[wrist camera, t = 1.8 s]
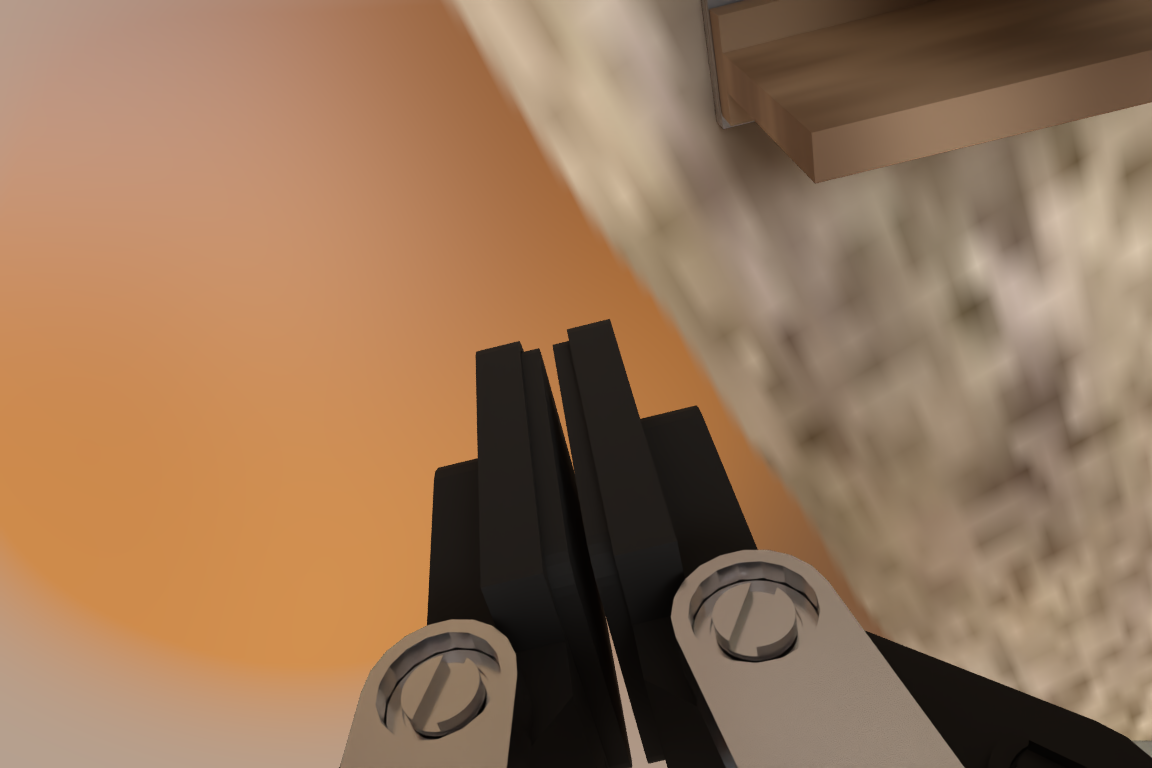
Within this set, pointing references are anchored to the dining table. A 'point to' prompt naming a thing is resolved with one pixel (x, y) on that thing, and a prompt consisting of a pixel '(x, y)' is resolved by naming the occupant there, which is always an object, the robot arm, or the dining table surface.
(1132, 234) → the dining table surface
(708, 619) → the robot arm
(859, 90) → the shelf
